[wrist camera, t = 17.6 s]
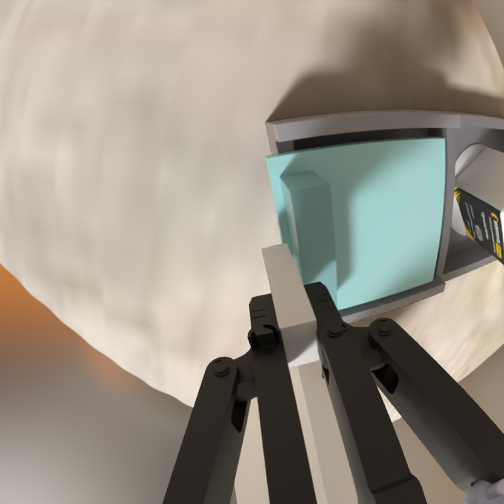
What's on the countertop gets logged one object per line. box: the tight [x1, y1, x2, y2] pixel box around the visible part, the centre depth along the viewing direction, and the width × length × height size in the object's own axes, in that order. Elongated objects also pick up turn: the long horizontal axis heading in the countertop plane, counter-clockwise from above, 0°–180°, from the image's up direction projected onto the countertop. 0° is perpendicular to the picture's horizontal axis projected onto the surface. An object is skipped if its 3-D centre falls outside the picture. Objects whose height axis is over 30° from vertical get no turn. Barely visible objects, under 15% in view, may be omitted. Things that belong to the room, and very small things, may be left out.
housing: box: [265, 110, 504, 324], centre depth 19 cm, size 16×28×5 cm, turn 102°
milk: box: [234, 357, 358, 504], centre depth 20 cm, size 12×12×26 cm
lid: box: [265, 137, 445, 310], centre depth 16 cm, size 12×13×4 cm
